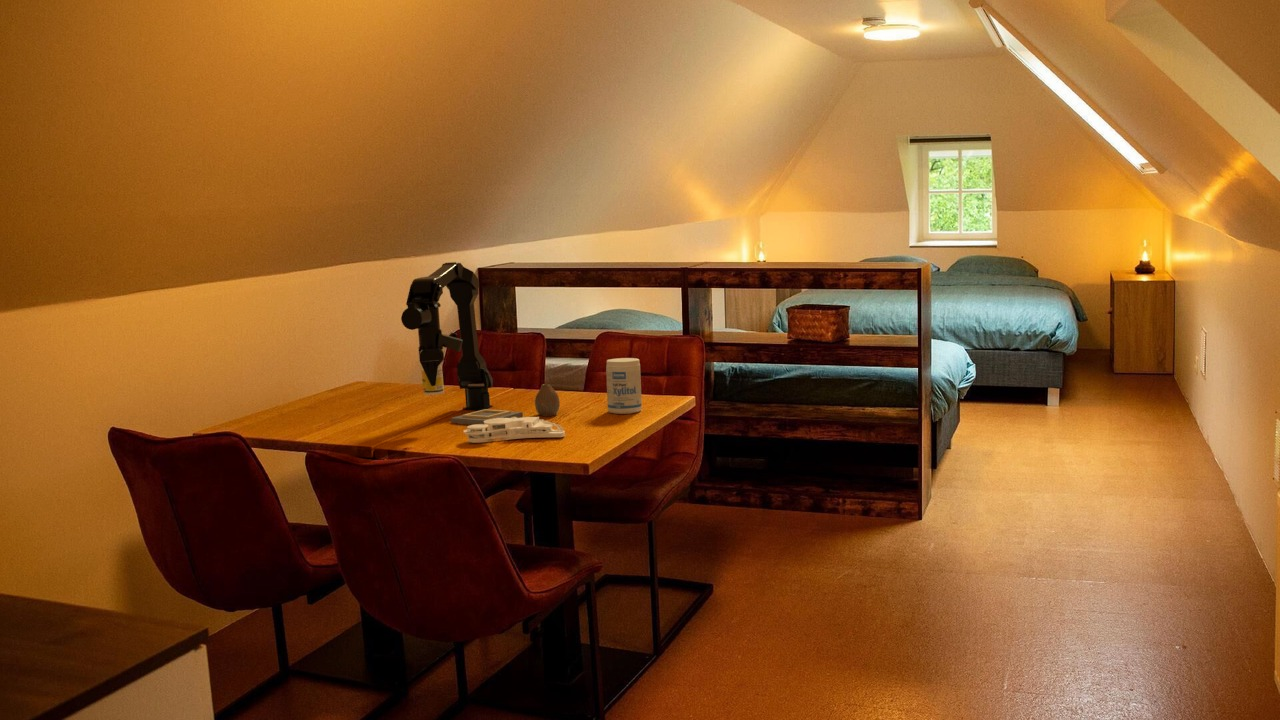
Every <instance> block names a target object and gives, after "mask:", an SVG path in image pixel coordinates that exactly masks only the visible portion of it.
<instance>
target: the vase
mask: <svg viewBox="0 0 1280 720" xmlns="http://www.w3.org/2000/svg"><path fill="white" fill-rule="evenodd" d="M559 397H560V396H559V395H558V393H557V391H556V390H555V389H554V388H553V386H552V385H551V384H549V383H545V384H544V383H543V384H541V386H540V389H539V391H537V393H536V395H535V399H534V407H535V411H536V413H537V414H538V415H539V417H554V416H556V415H557V413H558V412H559V410H560V403H561V401H560V398H559ZM553 415H554V416H553Z"/></svg>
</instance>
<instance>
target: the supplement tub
mask: <svg viewBox="0 0 1280 720" xmlns="http://www.w3.org/2000/svg"><path fill="white" fill-rule="evenodd" d="M605 368H606V369H605V373H606V374H605V375H606V395H607V396H606V398H607V399H606V400H607V401H606V404H607V411H608V412H609V413H611V414H615V415H616V414H617V415H619V414H620V415H629V414H630V415H631V414H633V413H634V414H635V413H639V412H640V411H641V410H642V408H643V407H642V380H641V374H642V373H641V363H640V359H639V358H636V357H620V358H619V357H618V358H611V359H610V358H609V359H606V367H605Z"/></svg>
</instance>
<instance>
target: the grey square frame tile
mask: <svg viewBox="0 0 1280 720" xmlns="http://www.w3.org/2000/svg"><path fill="white" fill-rule="evenodd" d="M511 417H517V418H521V417H524V413H523V411H512V410H504V409H503V410H501V409H489V408H486V409H482V410H475V411H472V412H469V413H468V412H467V413H465V414H461V415H458V416H457V415H456V416H454V417H450V424H456V423H457V424H458V425H468V426H470V425H474V424H484V421H485V420H489V419H493V418H511ZM457 424H456V425H457Z"/></svg>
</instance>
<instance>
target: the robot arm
mask: <svg viewBox="0 0 1280 720" xmlns="http://www.w3.org/2000/svg"><path fill="white" fill-rule="evenodd" d="M445 287H446V288H447V290H448V291H449V296H450V299H451V300H452V301H453V302H454V304H455V305H456V307H457V318H458V319H457V320H458V326H459V335H460V338H458V334H457V333H455V332H450V334H449V335H448V334H444V333H442V332H443V331H442V329H441V325H440V311H439V308H441V303H440V302H439V301H440V298H441V296H443V294H444V292H443V289H444V288H445ZM479 287H480V281H479V278H478V276H477V275H476V273H475V272H474V270H473V271H472V270H470V269H469V268H467V267H465V266H463V264H462V263H461V262H459V261H458V262H457V261H456V262H455V261H452V262H444V263H442V264H441V267H439V268H438V269H436V270H435V271H434V272H432V273H431V274H429V275H428V276H422V277H417V278H414V279H413V280H412V281H411V284H410V287H409V291H408V293H407V299H406V303H405V305H406V306H407V308H406V309H404V311H403V312H402V314H401V318H400V320H401V324H402V325H403V326H404V327H405V328H406V329H408V330H412V331H413V330H417V331H418V332H417V335H418V356H419V363H420V365H421V368H422V367H423V369H424V371H425V374H426V376H427V378H428V380H429V382H430V384H431V386H435V385H436V377H437V370H438V366H439V365H441V364H442V362H443V361H444V360H445V355H444V354H445V353H444V351H443V349H444V348H446V349H449V350H452V351H454V352H458V353H460V352H461V357H460V359H459V361H457V363H456V368H457V371H456V377H457V381H458V386H459V389H460V390H463V389H464V394H465V406H463V407H462V410H468V411H469V410H471V411H480V410H484V409H489V408H493V407H494V405H492V404H490V392H489V389H490V388H493V385H494V384H493V382H494V378H493V377H492V375H491V373H490V371H489V368H487V363H486V360H485V359H484V357H483V356H482V355H481V353H480V351H479V349H480V348H479V341H478V331H477V321H476V312H475V301H476V299H477V298H478V296H479Z"/></svg>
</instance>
